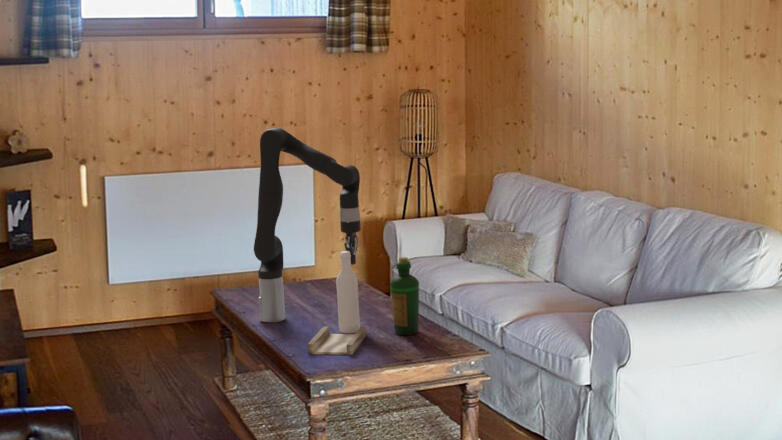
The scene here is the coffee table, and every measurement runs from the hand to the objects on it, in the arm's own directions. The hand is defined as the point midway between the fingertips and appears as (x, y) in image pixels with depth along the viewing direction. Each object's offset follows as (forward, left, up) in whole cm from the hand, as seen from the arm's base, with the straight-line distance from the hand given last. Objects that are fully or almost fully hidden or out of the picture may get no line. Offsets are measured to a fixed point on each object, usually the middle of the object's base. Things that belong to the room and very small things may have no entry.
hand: (352, 264), depth 409 cm
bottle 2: (+22, -12, -23) cm, 34 cm away
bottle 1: (0, -10, -23) cm, 25 cm away
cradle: (0, -28, -23) cm, 36 cm away
